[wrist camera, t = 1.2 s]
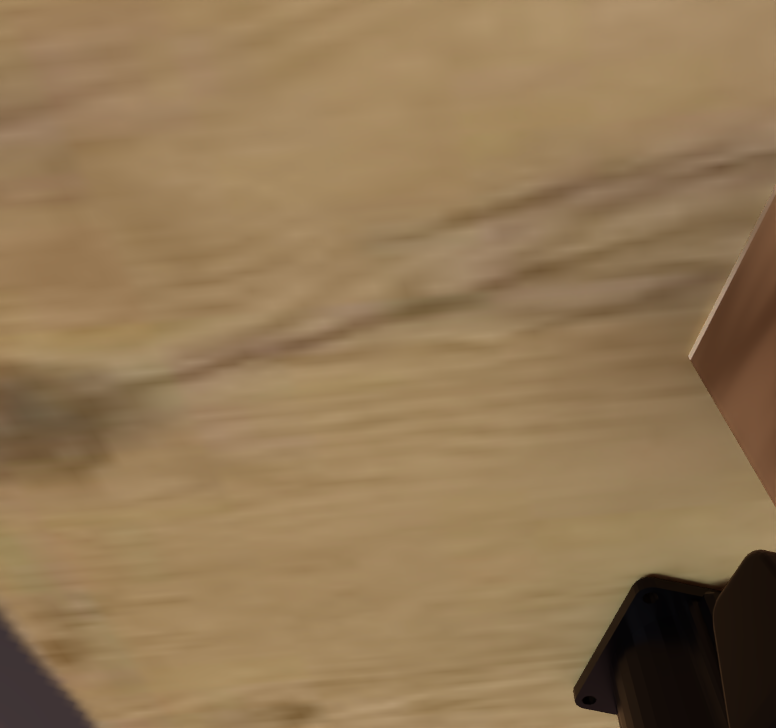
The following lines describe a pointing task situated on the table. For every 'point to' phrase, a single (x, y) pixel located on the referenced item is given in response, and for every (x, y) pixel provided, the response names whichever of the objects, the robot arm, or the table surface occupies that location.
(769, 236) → the walnut cube
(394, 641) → the table surface
